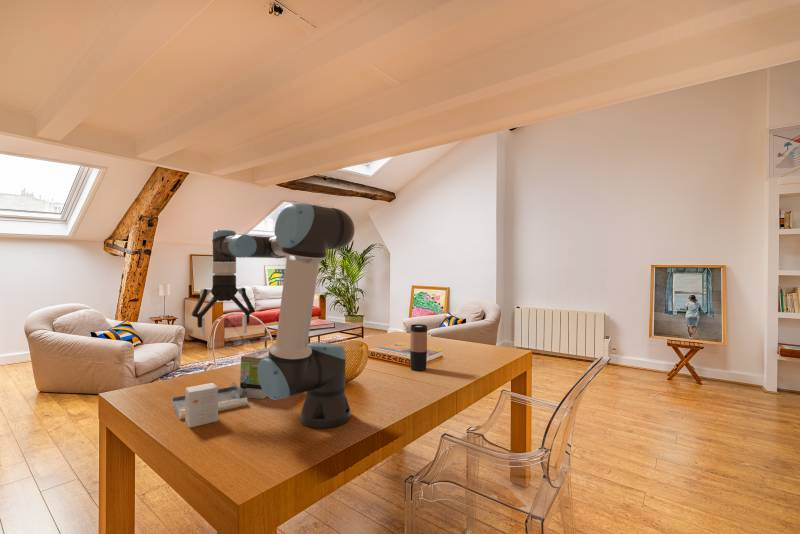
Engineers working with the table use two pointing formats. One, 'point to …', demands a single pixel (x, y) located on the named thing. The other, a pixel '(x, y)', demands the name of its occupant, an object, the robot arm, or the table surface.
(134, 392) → the table surface
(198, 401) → the small box
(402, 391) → the table surface
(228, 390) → the grey shallow tray
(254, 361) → the tea box
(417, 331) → the travel mug
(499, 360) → the table surface
